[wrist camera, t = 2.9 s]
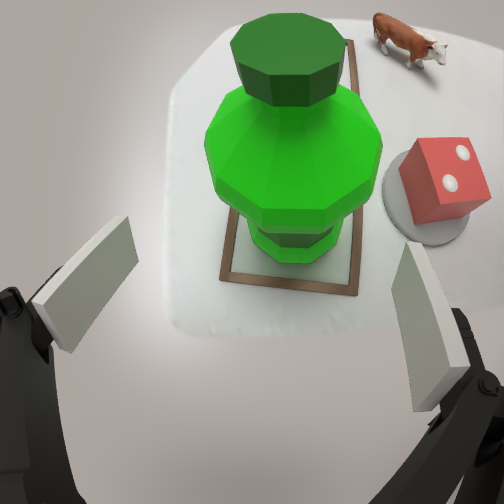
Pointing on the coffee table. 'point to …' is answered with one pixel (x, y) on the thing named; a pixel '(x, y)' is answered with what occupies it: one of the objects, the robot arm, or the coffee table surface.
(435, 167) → the red die stand
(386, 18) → the bull figurine
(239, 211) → the plastic bottle
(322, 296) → the coffee table surface
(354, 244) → the walnut frame
